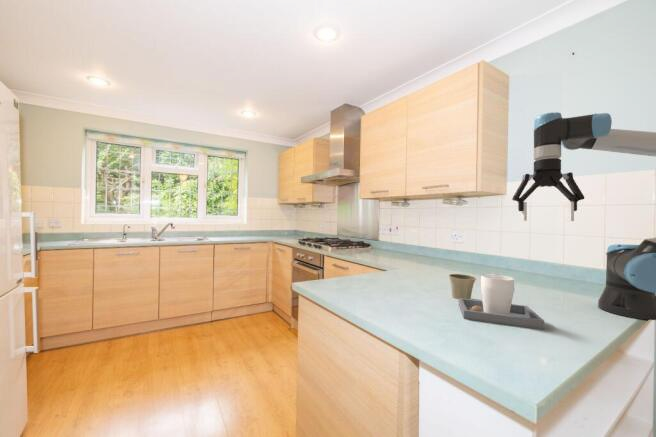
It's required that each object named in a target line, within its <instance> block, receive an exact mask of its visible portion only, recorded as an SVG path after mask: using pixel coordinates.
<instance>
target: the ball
mask: <svg viewBox="0 0 656 437" xmlns="http://www.w3.org/2000/svg"><path fill="white" fill-rule="evenodd" d="M471 311H479V312H484V311H483V309H482V308H481V307H480V306H477V305H475V306H473V307H472V308H471Z"/></svg>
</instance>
